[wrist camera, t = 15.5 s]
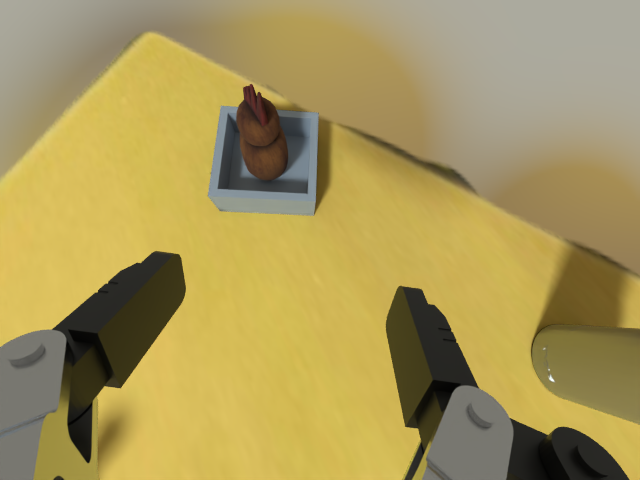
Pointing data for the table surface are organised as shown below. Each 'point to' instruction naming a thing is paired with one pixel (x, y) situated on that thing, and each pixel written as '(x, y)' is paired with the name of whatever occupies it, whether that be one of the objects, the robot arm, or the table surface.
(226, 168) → the slate tray
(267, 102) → the wooden figurine
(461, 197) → the table surface
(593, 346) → the robot arm
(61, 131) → the table surface
